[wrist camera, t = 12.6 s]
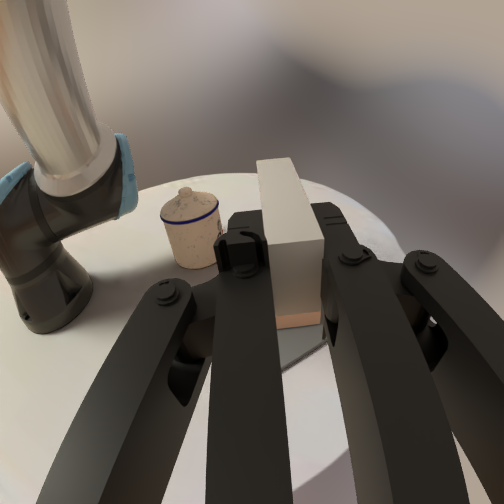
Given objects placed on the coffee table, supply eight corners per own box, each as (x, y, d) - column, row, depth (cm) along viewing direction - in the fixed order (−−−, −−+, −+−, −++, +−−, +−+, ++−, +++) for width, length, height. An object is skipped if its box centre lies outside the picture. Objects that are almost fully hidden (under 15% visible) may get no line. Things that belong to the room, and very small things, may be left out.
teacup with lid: (234, 260, 46) (221, 191, 39) (178, 277, 44) (156, 209, 37) (215, 226, 55) (204, 167, 49) (169, 240, 53) (152, 182, 47)
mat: (250, 388, 28) (249, 385, 27) (190, 301, 39) (189, 298, 39) (373, 307, 34) (374, 303, 34) (296, 250, 46) (296, 247, 46)
